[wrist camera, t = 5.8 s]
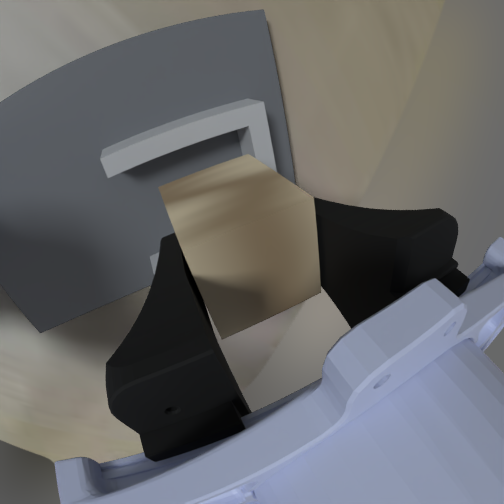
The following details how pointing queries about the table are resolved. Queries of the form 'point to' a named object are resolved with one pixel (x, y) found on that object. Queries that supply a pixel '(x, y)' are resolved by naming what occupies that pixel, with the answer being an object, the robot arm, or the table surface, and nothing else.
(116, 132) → the holder board
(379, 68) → the table surface
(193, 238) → the connector block
